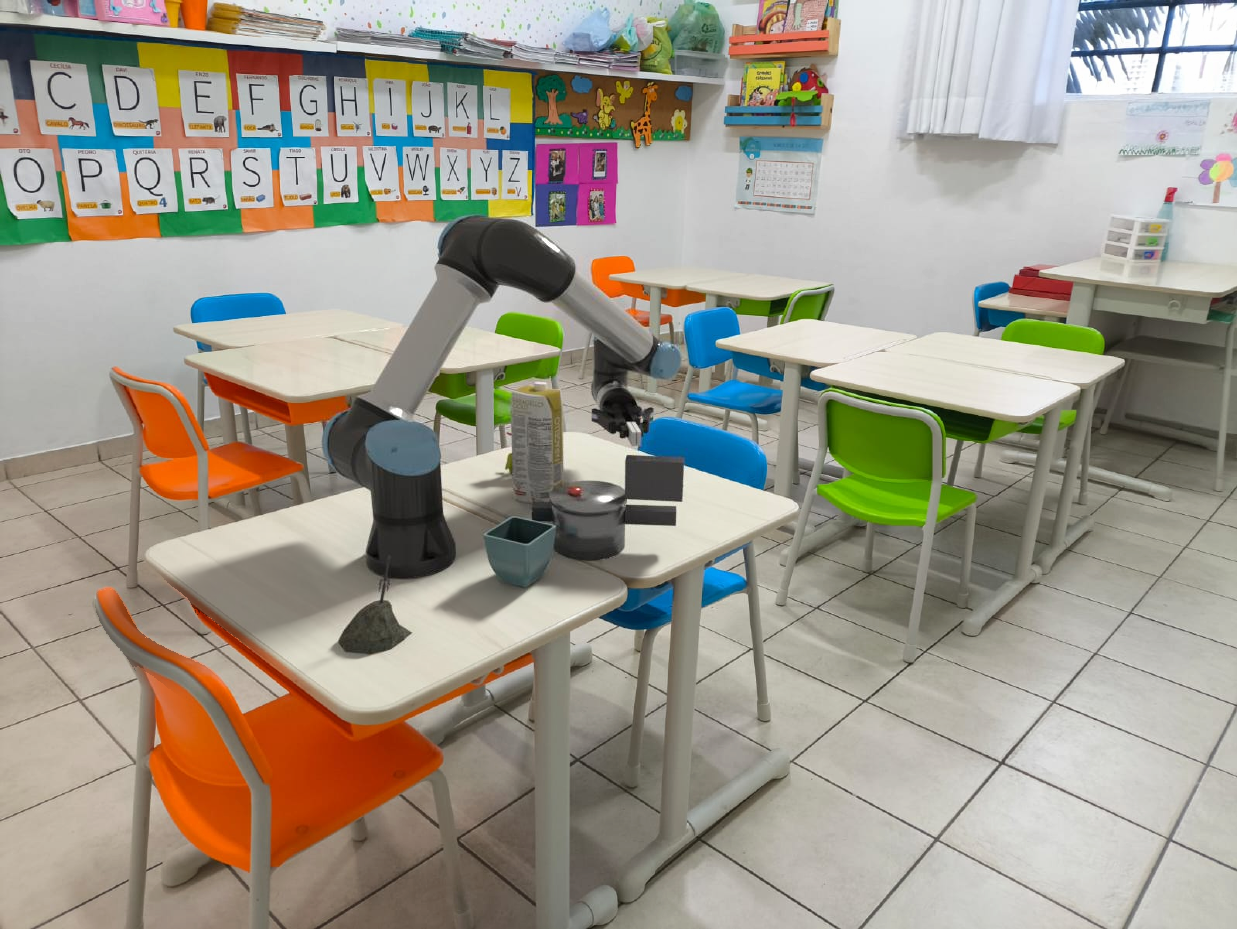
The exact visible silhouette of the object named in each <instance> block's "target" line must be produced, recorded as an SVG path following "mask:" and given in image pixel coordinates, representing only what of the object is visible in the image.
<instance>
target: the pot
mask: <svg viewBox="0 0 1237 929" xmlns="http://www.w3.org/2000/svg"><path fill="white" fill-rule="evenodd" d="M531 520H534V521H538V522H543V523H547V522H548V523H551V524H552V525H555V526H556V530H555V539H554V548H553V552H555V553H556V554H558V555H559V556H561V557H563V558H566V559H570V560H574V561H580V562H581V561H582V562H590V561H591V562H596V561H603V559H604V560H607V559H611V558H613V556H614V557H616V556H618V555H619V554H620V553H622V552H623V550H625V547H626V545H625V544H626V525H633V526H634V525H635V526H639V525H640V526H663V527H664V526H665V527H666V526H667V527H669V526H670V527H671V526H672V527H676V526H677V506H676V505H656V504H655V505H651V504H649V505H648V504H625V506H623V507H622V508H620V509H618V510H616V511H613V512H609V513H605V514H597V515H580V514H572V513H568V512H564V511H561V510H559V509H557V508H555V507H554V506H553V505H552V504H551V502H533V504H531ZM610 557H611V558H610Z"/></svg>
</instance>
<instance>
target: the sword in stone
mask: <svg viewBox="0 0 1237 929" xmlns="http://www.w3.org/2000/svg"><path fill="white" fill-rule="evenodd" d="M389 563H390V556H388V558H387V565H386V571H385V576H383V578H380V579H379V583H378V586H379V587H378V592H379V593H381V594H380V599H379V600H374V601H372V602H370V603H369V604H367V605H365V606H364V607H363V608H361V609H360V610H359V611H358V612H357V613H356V614H355V615H354V616H353V618H352V619H351V620H350V622H349V623H348V624H347V625H346V626H345V628H344V629H343V631H342V633H341V635H340V636H339V638H338V644H339V645H340V647H341V648H342V649H343V652H345V653H352V654H360V655H361V654H362V655H375V654H377V653H381V652H385V651H390V650H393V648H395V647H397V646H398V645H399V644H401V643H402V642H404V641H405V640H406V639H407V638H408V637H409V636H410V635H412V634H413V632H412V631H410V630H408V628H405V627H404V626H403V625H401V624H400V623H399V621H398V619H397V618H396V615H395V614H394V611H393V605H392V604H391V602H390V601H389V600H386V599H384V598H385V593H386V592H388V591H389V586H390V583H391V579H390V578H391V577H387V574H388V569H389V568H388V567H389ZM382 582H383V583H382ZM386 583H387V584H386ZM380 589H381V591H380Z"/></svg>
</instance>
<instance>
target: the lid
mask: <svg viewBox="0 0 1237 929" xmlns="http://www.w3.org/2000/svg"><path fill="white" fill-rule="evenodd" d="M625 456H626V457H625V460H624V469H625V470H624V473H625V474H624V488H623V487H621V486H620V485H618V484H615V483H611V482H607V481H602V480H588V479H587V480H576V481H570V482H565V483H564V484H562V485H560V486H557V487H556V488H554V489H553V490H552V491H551V493H550V502H551V504H552V505H553V506H554V507H555V508H557V509H559V510H561V511H564V512H568V513H572V514H580V515H597V514H605V513H609V512H613V511H616V510H618V509H620V508H622V507H623V506H626V505H627V503H628V500H638V501H654V502H657V501H658V502H673V503H674V502H675V503H678V502H679V503H683V500H684V498H683V497H684V474H685V472H684V471H685V457H682V456H662V455H660V456H659V455H658V456H657V455H640V454H639V455H638V454H627V455H625Z"/></svg>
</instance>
